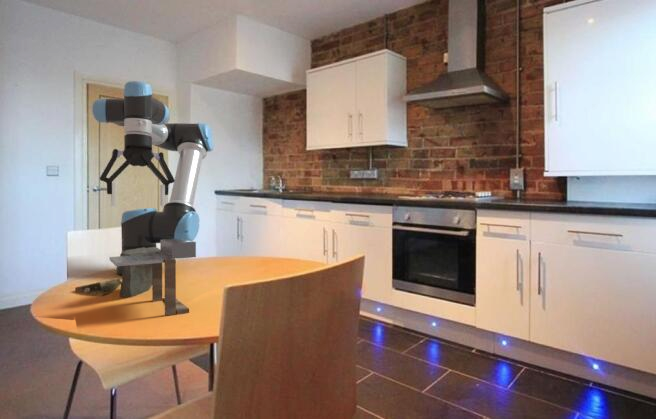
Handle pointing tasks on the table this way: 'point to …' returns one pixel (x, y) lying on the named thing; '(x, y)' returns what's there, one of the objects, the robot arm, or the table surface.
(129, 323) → the table surface
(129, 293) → the marble piece
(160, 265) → the frame
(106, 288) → the rock
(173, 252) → the trapdoor
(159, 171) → the robot arm
